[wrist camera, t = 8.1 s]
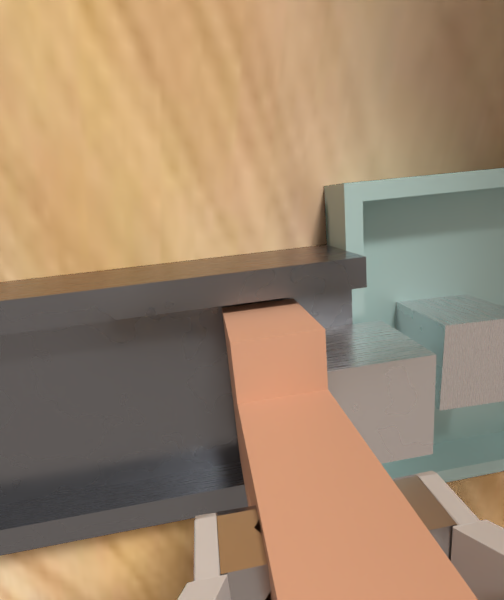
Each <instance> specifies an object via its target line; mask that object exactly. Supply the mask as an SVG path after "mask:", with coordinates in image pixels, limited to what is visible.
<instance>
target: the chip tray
mask: <svg viewBox="0 0 504 600" xmlns="http://www.w3.org/2000/svg"><path fill="white" fill-rule="evenodd" d="M324 193H325V216H326V239H327V245H329V246H332V247H336V248H339V249H342V250H346V251H349V252H352V253H355V254H359V255H362V256H365V257H366V274H367V287H365V288H357V289H352V322H353V324H357V323H364V322H371V321H379V320H382V321H384V322H385V323H387V324H388V325H390V326H392V327H393V328H395V323H396V302H400V301H409V300H418V299H427V298H437V297H446V296H455V295H465V294H467V295H470V296H473V297H476V298H479V299H482V300H486V301H489V302H492V303H495V304H498V305H501V306H504V168H497V169H487V170H477V171H466V172H456V173H446V174H435V175H425V176H415V177H404V178H394V179H383V180H373V181H363V182H352V183H343V184H336V185H329V186H324ZM382 466H383V467H384V469H385V470H386V471H387V473H388V474H389V476H390V477H391V478H392V479H394V478H399V477H404V476H409V475H414V474H418V473H422V472H427V471H434V472H436V473H437V474H438V475H439V476H440V477H441V478H442V479H443V480H444V481H445V483H446V482H451V481H456V480H461V479H466V478H471V477H476V476H481V475H486V474H491V473H496V472H501V471H504V401H502V402H495V403H488V404H481V405H474V406H468V407H461V408H454V409H447V410H441V411H439V410H438V409H437V408H436V407H435V410H434V438H433V454H431V455H425V456H420V457H415V458H409V459H404V460H398V461H393V462H388V463H382Z"/></svg>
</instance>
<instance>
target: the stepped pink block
mask: <svg viewBox="0 0 504 600" xmlns="http://www.w3.org/2000/svg"><path fill="white" fill-rule="evenodd" d="M222 314H223V323H224V331H225V339H226V347H227V356H228V364H229V372H230V380H231V388H232V397H233V405H234V413H235V421H236V430H237V438H238V446H239V454H240V461H241V467H242V473H243V479H244V485H245V491H246V496H247V502H248V507H249V506H255V505H256V507H257V512H258V517H259V524H260V533H261V534H262V537H263V542H264V547H265V552H266V557H267V562H268V570H269V579H270V589H271V591H270V596H271V600H478V599H477V598H476V596H475V595H474V593H473V592H472V591H471V589H470V588H469V586H468V585H467V584H466V582H465V581H464V579H463V578H462V577H461V575H460V574H459V572H458V571H457V570H456V568H455V567H454V565H453V564H452V563H451V561H450V560H449V558H448V557H447V556H446V554H445V553H444V551H443V550H442V548H441V547H440V546H439V544H438V543H437V541H436V540H435V539H434V537H433V536H432V534H431V533H430V532H429V530H428V529H427V527H426V526H425V525H424V523H423V522H422V520H421V519H420V518H419V516H418V515H417V513H416V512H415V511H414V509H413V508H412V506H411V505H410V504H409V502H408V501H407V499H406V498H405V497H404V495H403V494H402V492H401V491H400V490H399V488H398V487H397V485H396V484H395V483H394V481H393V480H392V478H391V477H390V476H389V474H388V473H387V471H386V470H385V469H384V467H383V466H382V464H381V463H380V462H379V460H378V459H377V457H376V456H375V455H374V453H373V452H372V450H371V449H370V448H369V446H368V445H367V443H366V442H365V441H364V439H363V438H362V436H361V435H360V433H359V432H358V431H357V429H356V428H355V426H354V425H353V424H352V422H351V421H350V419H349V418H348V417H347V415H346V414H345V412H344V411H343V410H342V408H341V407H340V405H339V404H338V403H337V401H336V400H335V398H334V397H333V396H332V394H331V393H330V391H329V390H328V376H327V355H326V333H325V328H324V327H323V326H322V325H320V324H319V323H318V322H317V321H316V320H315V319H314V318H313V317H312V316H311V315H310V314H309V313H308V312H307V311H306V310H305V309H304V308H303V307H302V306H301V305H300V304H299V303H298V302H297V301H296V300H295V299H294V298H293V299H285V300H278V301H270V302H262V303H255V304H247V305H240V306H232V307H224V308H222Z"/></svg>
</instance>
